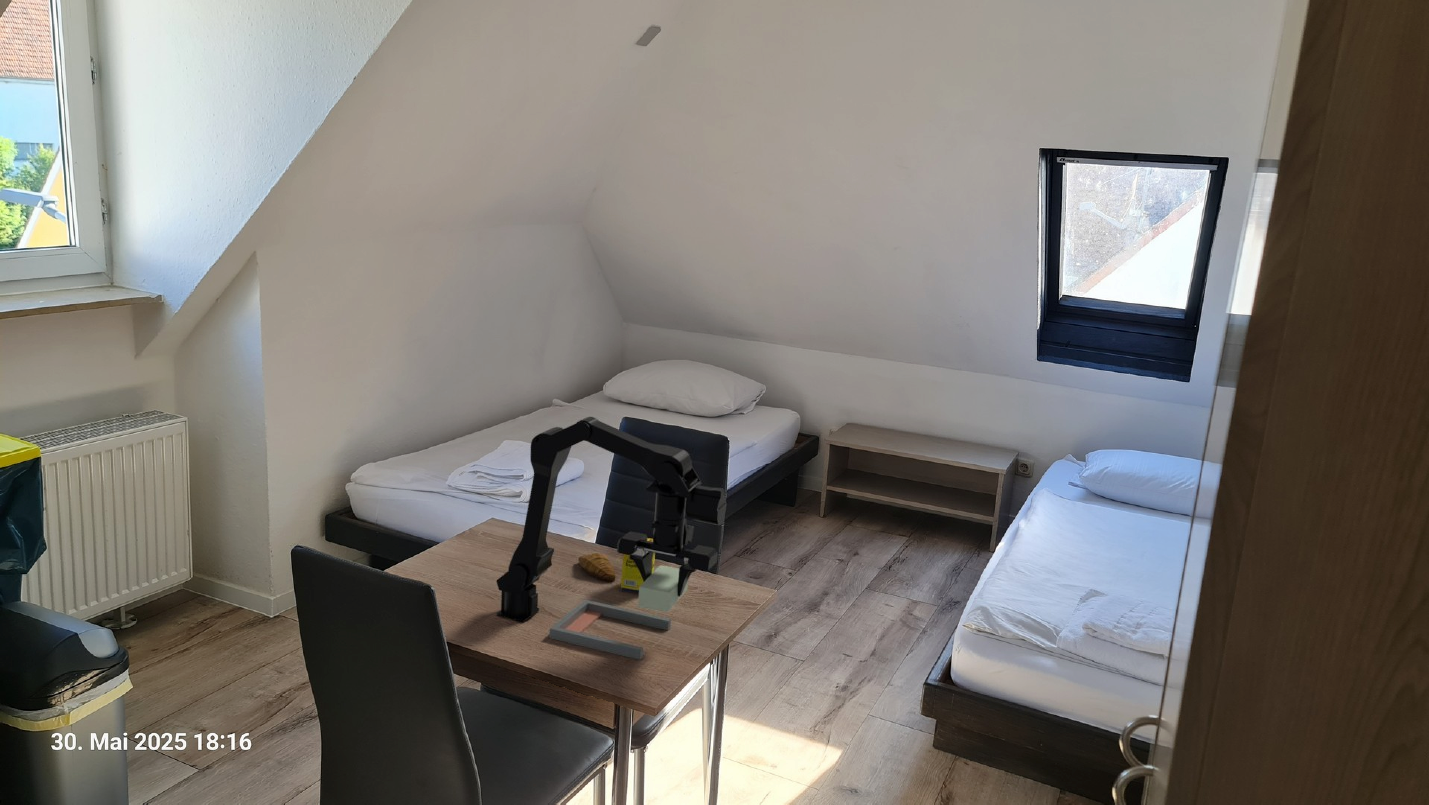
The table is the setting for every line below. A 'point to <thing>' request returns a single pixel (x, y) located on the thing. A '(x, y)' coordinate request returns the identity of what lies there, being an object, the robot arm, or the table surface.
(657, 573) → the block
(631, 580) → the supplement box
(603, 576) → the croissant
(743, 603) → the table surface
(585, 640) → the channel
